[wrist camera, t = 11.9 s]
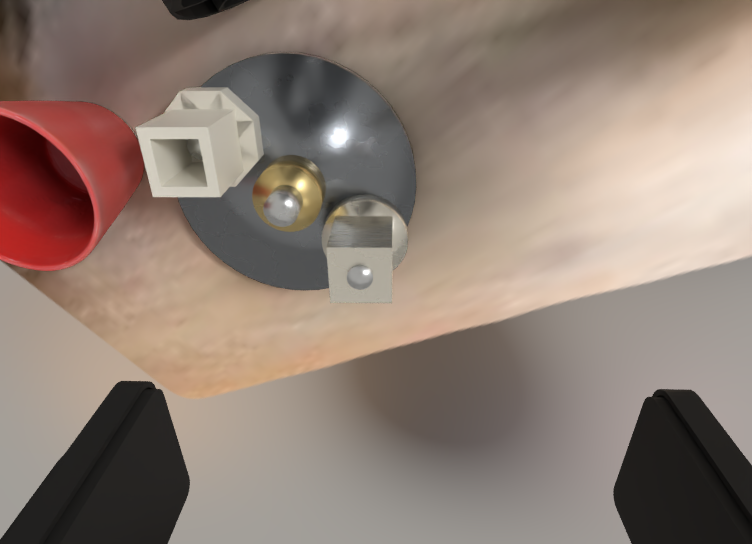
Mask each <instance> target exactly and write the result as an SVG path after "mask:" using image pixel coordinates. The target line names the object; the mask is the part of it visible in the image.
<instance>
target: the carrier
mask: <svg viewBox="0 0 752 544" xmlns="http://www.w3.org/2000/svg"><path fill="white" fill-rule="evenodd" d="M201 87H228V88H229V89H230V90H231V91H232V92H233V93H234V94H235V95H236V96H237V97H239V98H240V99H241V100H242V101H243V102H244V103H245V104H246V105H247V106H248V107H250V108H251V109H252V110H253V111H254V112H255V113H256V114H257V115H258V116H259V121H260V129H261V137H262V144H263V152H264V155H263V156H262V157H261V158H260V159H259V161H258V162H257V163H256V164H255V165H254V166H253V167H252V169H251V170H250V171H249V172H248V173H247V174H246V175H245V177H244V178H243V179H242V180H241V181H240V182H239V183H238V185H237V186H236V187H229V188H228V189H227V191H226V192H225V193H224V194H223V195H222V196H221V197H178V200H179V203H180V205H181V208H182V210H183V212H184V215H185V217H186V218H187V220H188V222H189V223H190V225H191V227H192V229H193V230H194V231H195V233H196V234H197V235H198V237H199V238H200V239H201V241H202V242H203V243H204V244H205V245H206V246H207V247H208V248H209V249H210V250H211V251H212V252H213V253H214V254H215V255H216V256H217V257H218V258H220V259H221V260H222V261H223V262H224V263H226V264H227V265H229V266H230V267H232V268H233V269H235V270H236V271H238V272H240V273H242V274H243V275H245V276H247V277H249V278H251V279H254V280H256V281H259V282H261V283H264V284H268V285H271V286H275V287H279V288H285V289H291V290H320V289H326V288H329V292H330V303H392V271H393V270H394V269H395V268H396V267H397V266H398V265H399V264H400V263H401V262H402V260H403V258H404V256H405V254H406V251H407V246H408V235H407V226H408V223H409V221H410V218H411V215H412V211H413V207H414V202H415V193H416V171H415V163H414V158H413V152H412V148H411V145H410V142H409V139H408V136H407V133H406V131H405V129H404V127H403V125H402V123H401V121H400V119H399V118H398V116H397V114H396V113H395V111H394V110H393V108H392V107H391V105H390V104H389V103H388V102H387V101H386V99H385V98H384V97H383V96H382V95H381V93H380V92H379V91H377V90H376V89H375V88H374V87H373V86H372V85H371V84H370V83H369V82H368V81H366V80H365V79H363V78H362V77H361V76H359V75H358V74H356V73H355V72H353V71H352V70H350V69H348V68H346V67H344V66H342V65H340V64H338V63H336V62H333V61H331V60H328V59H325V58H322V57H319V56H314V55H309V54H305V53H295V52H277V53H266V54H262V55H258V56H254V57H250V58H247V59H245V60H242V61H240V62H237V63H235V64H232V65H230V66H228V67H227V68H225V69H223V70H222V71H220V72H218V73H217V74H215V75H214V76H213V77H211V78H210V79H209V80H208V81H207V82H205V83H204V84H203V85H202V86H201ZM187 149H188V151H189V153H190V154H191V155H192V156H193V157H194V158H196V159H199V160H203V159H202V154H201V149H200V144H199V139H188V140H187Z"/></svg>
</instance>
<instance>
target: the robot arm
mask: <svg viewBox="0 0 752 544" xmlns="http://www.w3.org/2000/svg"><path fill="white" fill-rule="evenodd" d="M189 485H190V480H189V475H188V472H187V469H186V465H185V462H184V459H183V455H182V452H181V449H180V446H179V442H178V439H177V436H176V433H175V429H174V426H173V423H172V420H171V417H170V414H169V410H168V407H167V403H166V400H165V397H164V394H163V392H162V390H160V389H156V388H155V385H154V384H153V383H152V382H148V381H147V382H146V381H121V382H118V383H117V384H116V385H115V386H114V387H113V389H112V390H111V391H110V393H109V394H108V396H107V397H106V398H105V400H104V401H103V402H102V404H101V405H100V407H99V408H98V409H97V411H96V412H95V413H94V415H93V416H92V417H91V419H90V420H89V421H88V423H87V424H86V426H85V427H84V428H83V430H82V431H81V433H80V434H79V435H78V437H77V438H76V439H75V441H74V442H73V443H72V445H71V446H70V448H69V449H68V450H67V452H66V453H65V454H64V455H63V456H62V457H61V459H60V460H59V461H58V462H57V463H56V465H55V466H54V467H53V469H52V470H51V471H50V473H49V474H48V475H47V477H46V478H45V480H44V481H43V482H42V484H41V485H40V486H39V488H38V489H37V490H36V492H35V493H34V494H33V496H32V497H31V499H30V500H29V501H28V503H27V504H26V505H25V507H24V508H23V509H22V511H21V512H20V513H19V515H18V516H17V518H16V519H15V520H14V522H13V523H12V524H11V526H10V527H9V529H8V530H7V531H6V533H5V534H4V535H3V537H2V538H1V539H0V544H168V541H169V539H170V536H171V534H172V532H173V529H174V527H175V525H176V522H177V520H178V517H179V515H180V513H181V510H182V508H183V506H184V503H185V501H186V498H187V496H188V492H189ZM613 495H614V501H615V506H616V508H617V511H618V513H619V515H620V518H621V520H622V522H623V525H624V527H625V529H626V532H627V534H628V536H629V538H630V541H631V543H632V544H752V465H751V464H750V463H749V461H748V460H747V459H746V458H745V456H744V455H743V453H742V452H741V451H740V450H739V448H738V447H737V446H736V444H735V443H734V442H733V440H732V439H731V438H730V436H729V435H728V434H727V432H726V431H725V430H724V429H723V427H722V426H721V425H720V423H719V422H718V421H717V419H716V418H715V417H714V416H713V414H712V413H711V411H710V410H709V409H708V408H707V406H706V405H705V404H704V402H703V401H702V400H701V398H700V397H699V396H698V395H697V394H696V393H695V392H694V391H692V390H669V389H659V390H657V391H655V392H654V394H653V396H652V397H647V398H646V399H645V401H644V403H643V406H642V409H641V411H640V415H639V417H638V420H637V423H636V426H635V429H634V432H633V434H632V437H631V440H630V443H629V446H628V449H627V452H626V455H625V458H624V460H623V463H622V466H621V469H620V472H619V475H618V478H617V481H616V483H615V486H614V494H613Z"/></svg>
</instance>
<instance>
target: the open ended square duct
mask: <svg viewBox="0 0 752 544" xmlns="http://www.w3.org/2000/svg"><path fill="white" fill-rule="evenodd" d="M135 128H136V132H137V136H138V140H139V144H140V148H141V152H142V156H143V160H144V164H145V167H146V171H147V175H148V179H149V183H150V187H151V191H152V195H153V197H221V196H222V195H223V194H224V193H225V192H226V191H227V189H228V188H229V187H236V186H237V185H238V183H239V182H240V181H241V180H242V179H243V178H244V177H245V175H246V174H247V173H248V172H249V171H250V170H251V169H252V167H253V166H254V165H255V164H256V163H257V162H258V161H259V159H260V158H261V157H262V156H263V155H264V152H263V144H262V137H261V129H260V121H259V116H258V115H257V114H256V113H255V112H254V111H253V110H252V109H251V108H250V107H248V106H247V105H246V104H245V103H244V102H243V101H242V100H241V99H240V98H239V97H237V96H236V95H235V94H234V93H233V92H232V91H231V90H230V89H229V88H228V87H193V88H186V89H184V90H181V91H179V93H178V94H177V95H176V97H175V98H174V100H173V101H172V102H171V104H170V105H169V106H168V108H167V109H166V111H165V112H164V113H163V114H162V115H160V116H158V117H156V118H154V119H152V120H150V121H148V122H146V123H143V124H141V125H139V126H137V127H135ZM188 139H199V144H200V149H201V154H202V159H203V160H199V159H196V158H194V157H193V156H192V155H191V154H190V153H189V151H188V149H187V140H188Z"/></svg>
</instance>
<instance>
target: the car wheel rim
mask: <svg viewBox="0 0 752 544" xmlns="http://www.w3.org/2000/svg"><path fill="white" fill-rule="evenodd" d="M162 1H163V3H164V4H165V6H166V7H167V9H168V10H169V12H170V13H171V14H172V15H173V16H174V17H175V18H177V19H181V20H192V19H198V18H203V17H207V16H210V15H213V14H216V13H219V12H222V11H225V10H228V9H230V8H232V7H235V6H237V5H239V4H242V3H244V2H246V1H248V0H162Z"/></svg>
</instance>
